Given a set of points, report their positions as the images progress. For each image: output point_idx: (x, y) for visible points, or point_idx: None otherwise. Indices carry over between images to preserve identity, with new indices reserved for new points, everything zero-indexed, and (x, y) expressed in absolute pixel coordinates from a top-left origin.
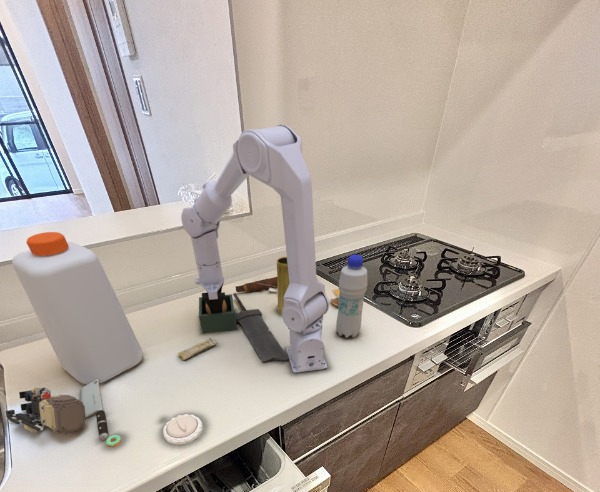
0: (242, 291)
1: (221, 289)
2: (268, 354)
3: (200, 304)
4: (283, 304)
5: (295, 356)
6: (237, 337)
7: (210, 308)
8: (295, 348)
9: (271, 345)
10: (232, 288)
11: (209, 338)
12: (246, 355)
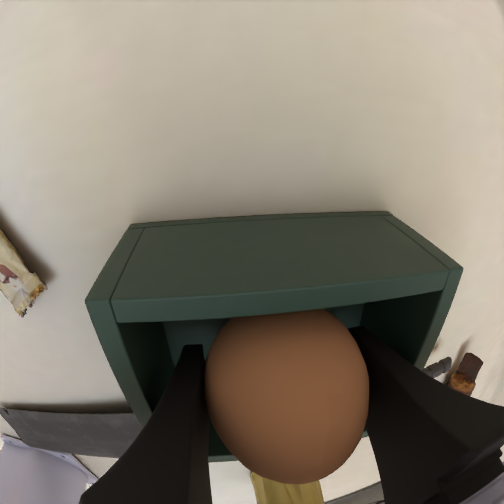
0: (459, 367)
1: (380, 471)
2: (22, 428)
3: (342, 297)
4: (263, 497)
5: (13, 464)
6: (104, 377)
7: (152, 419)
8: (8, 481)
9: (58, 444)
10: (499, 321)
11: (40, 283)
12: (12, 381)
